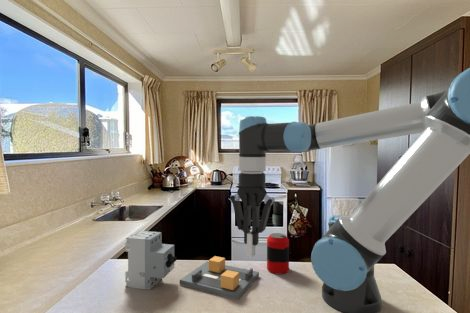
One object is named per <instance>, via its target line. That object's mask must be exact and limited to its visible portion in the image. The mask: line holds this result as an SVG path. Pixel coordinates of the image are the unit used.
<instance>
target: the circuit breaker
mask: <svg viewBox="0 0 470 313" xmlns="http://www.w3.org/2000/svg"><path fill="white" fill-rule="evenodd" d="M162 234H163V233H162V231H161V232H160V231H145V230H142V231H141V230H139V231H137V232H135V233H133V234H131V235H129V236H127V237H125V239H126V242H125V244H124V246H125V248H124V249H125V250H124V251H125V252H126V253H127V270H126V271H125V272H124V273H125V274H124V275H125V288H127V287H129V288H133V289H142V290H143V289H144V290H151V289H152V288H153V287H154V286H155V285H156V284H157V283H158V282H159V281H160V280H161V279H164V278H165V277H166V276H167V275H168V274H169V273H171V271H173V270H174V269H175V262H177V256H175V244H168V243H163V242H162V240H163V238H162Z"/></svg>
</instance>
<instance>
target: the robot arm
mask: <svg viewBox="0 0 470 313" xmlns="http://www.w3.org/2000/svg"><path fill="white" fill-rule="evenodd" d="M238 131H239V132H238V138H239V140H238V143H239V144H238V148H239V149H238V151H239V152H238V153H239V154H238V156H239V157H238V171H239V173H238V189H237V191H236V193H235V194H233V195H230V196H229V199H230V201H231V203H232V207H233V211H234V214H235V221H236V225H237V226H236V227H237V229H238V230H239V231H240V230H241V231H242V232H243V242H244V244H245V245H246V258H253V257H254V256H255V255H256V246H257V245H258V244H259V238H260V237H259V235H260V234H261V233H263V232H265V231H266V227H267V223H268V220H269V216H270V213H271V208H272V205H273V204H274V203H275V198H273V197H270V196H269V195H268V192H267V190H266V174H265V173H264V172H265V171H266V168H267V167H266V162H267V160H266V158H267V152H288V153H290V152H292V153H299V152H300V153H307V152H309V153H310V152H311V151H315V150H320V149H322V150H323V149H327V148H333V147H340V146H347V145H354V144H359V143H366V142H371V141H380V140H385V139H391V138H398V137H403V136H409V135H410V136H411V135H417V134H419V135H418V136H417V138H415V140H414V141H413V143H412V144H410V145H409V147H408V148H407V149H406V150H405V152H404V153H403V154H402V155H401V156H400V158H398V160H397V161H396V162H395V163H394V164H393V165H392V167H391V168H390V169H389V170H388V171H387V172H386V173H385V175H384V176H383V177H382V178H381V180H380V181H379V182H378V183H377V184H376V185H375V186H374V187H373V189H372V190H371V191H370V192H369V193H368V195H367V196H366V197H365V198H364V199H363V200H362V202H361V203H360V204H359V205H358V206H357V207H356V209H355V210H354V211H353V212H351V214H349V215H341V214H340V215H331V216H330V217H329V218H328V223H327V224H328V230H327V231H326V233H325V234H324V235H323V236H322V237H321V238H320V239H318V240H317V241H316V242H315V244H314V245H313V248H312V251H311V255H310V261H311V266H312V269H313V271H314V273H315V275H316V276H317V277H318V278H319V280H321V282H323V283H322V286H321V297H322V299H323V301H324V302H325V303H326V304H327V305H328V306H331V308H334V309H335V310H338V311H340V312H343V313H379V312H380V311H381V309H382V295H381V292H380V289H379V286H378V284H377V280H376V278H375V277H376V276H375V265H376V264H377V263H378V262H379V261H380V260H381V259H382V258H383V257H384V256H385V255H386V253H387V250H386V245H385V244H386V242H387V241H388V240H389V238H390V237H391V236H392V235H394V234H395V233H396V232H397V230H399V228H400V227H401V226H402V225H403V224H404V223H405V222H406V221H407V220H408V219H409V218H410V217H411V216H412V214H414V213H415V211H416V210H418V208H419V207H421V205H422V204H423V203H425V201H426V200H427V199H428V198H429V197H430V196H431V195H432V194H433V193H434V192H435V191H436V190H437V189H438V188H439V186H440V185H441V184H443V183H444V181H445V180H446V179H447V178H448V177H449V176H450V175H451V174H452V173H453V172H454V171H455V170H456V169H457V168H458V167H459V165H461V163H463V161H465V159H466V158H467V157H468V156H469V155H470V67H469V68H467V69H465V70H464V71H462V72H461V73H458V75H457V76H456V77H454V79H453V80H452V81H451V84H450V86H449V87H448V88H447V89H445V90H443V91H441V92H437V93H435V94H430V95H425V96H423V97H422V99H421V100H420V101H417V102H413V103H408V104H403V105H399V106H393V107H390V108H389V107H388V108H384V109H379V110H376V111H369V112H365V113H359V114H355V115H349V116H346V117H341V118H340V117H339V118H336V119H331V120H327V121H321V122H316V123H312V124H308V123H307V122H305V121H291V122H279V123H278V122H277V123H276V122H274V123H268V122H267V118H266V117H264V116H259V115H258V116H257V115H255V116H254V115H253V116H252V115H251V116H250V115H249V116H243V117H242V118H241V119H239V130H238ZM263 200H264V203H263V204H264V205H263V208H262V213H261V216H260V209H261V204H262V202H263ZM241 202H242V204H241ZM242 208H243V209H242Z"/></svg>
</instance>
